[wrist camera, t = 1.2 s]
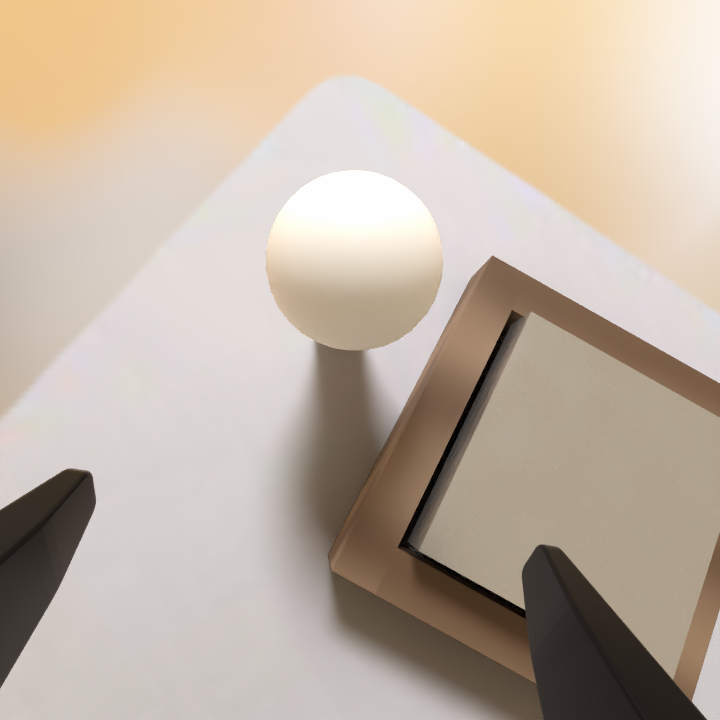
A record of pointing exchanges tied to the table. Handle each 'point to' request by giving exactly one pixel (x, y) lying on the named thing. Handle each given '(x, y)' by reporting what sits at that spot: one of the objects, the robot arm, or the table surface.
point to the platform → (582, 483)
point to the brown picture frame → (428, 441)
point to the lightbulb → (354, 260)
